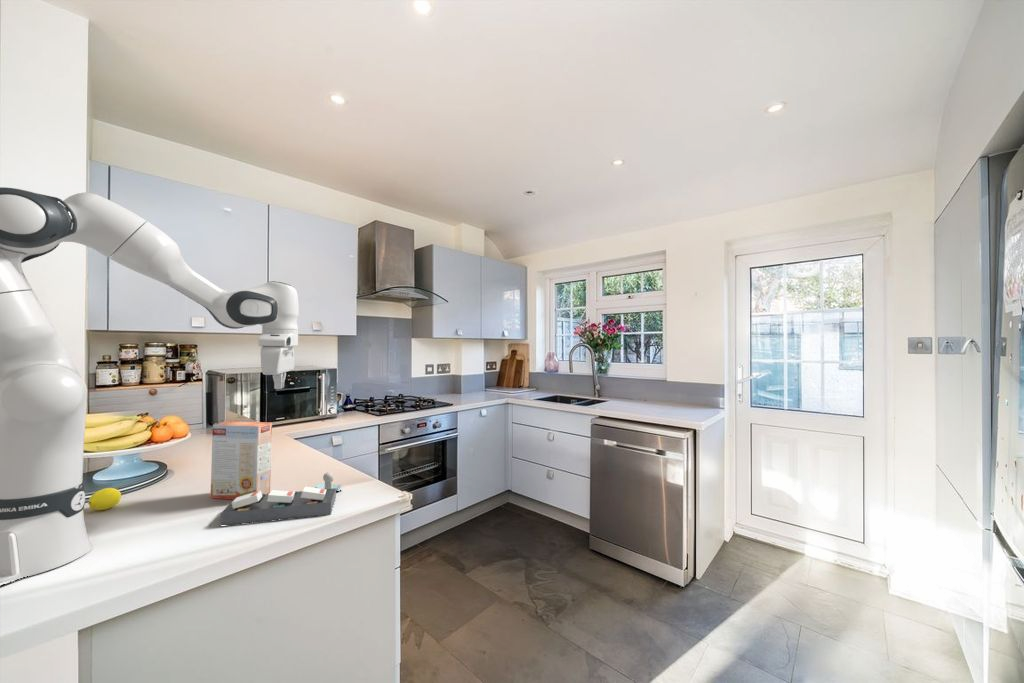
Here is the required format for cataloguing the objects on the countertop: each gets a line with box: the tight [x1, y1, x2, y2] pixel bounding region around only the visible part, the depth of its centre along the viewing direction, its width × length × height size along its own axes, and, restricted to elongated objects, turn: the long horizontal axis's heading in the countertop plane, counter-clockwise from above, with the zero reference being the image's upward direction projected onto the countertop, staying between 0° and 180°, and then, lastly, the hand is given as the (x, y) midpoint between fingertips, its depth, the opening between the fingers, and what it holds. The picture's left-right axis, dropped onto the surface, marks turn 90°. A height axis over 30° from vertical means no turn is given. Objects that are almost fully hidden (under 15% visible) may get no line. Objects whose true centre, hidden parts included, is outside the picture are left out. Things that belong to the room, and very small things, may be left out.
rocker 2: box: [267, 489, 295, 503], centre depth 98 cm, size 5×3×2 cm, turn 108°
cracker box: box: [210, 420, 273, 500], centre depth 110 cm, size 14×6×21 cm, turn 84°
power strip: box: [220, 488, 337, 526], centre depth 100 cm, size 24×10×4 cm, turn 108°
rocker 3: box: [301, 486, 327, 500], centre depth 100 cm, size 5×3×2 cm, turn 108°
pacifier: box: [314, 472, 343, 492], centre depth 114 cm, size 7×6×6 cm
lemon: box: [87, 487, 122, 511], centre depth 99 cm, size 7×5×5 cm
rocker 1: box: [231, 490, 262, 509], centre depth 95 cm, size 5×3×2 cm, turn 108°
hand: (279, 388), depth 108 cm, fingers closed
